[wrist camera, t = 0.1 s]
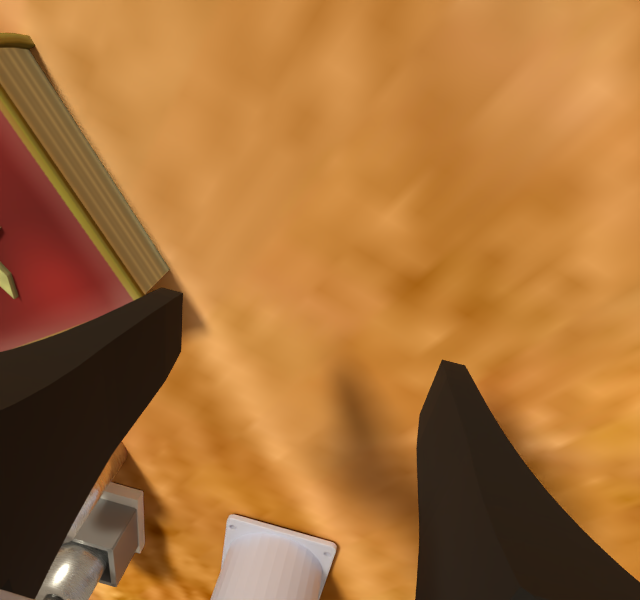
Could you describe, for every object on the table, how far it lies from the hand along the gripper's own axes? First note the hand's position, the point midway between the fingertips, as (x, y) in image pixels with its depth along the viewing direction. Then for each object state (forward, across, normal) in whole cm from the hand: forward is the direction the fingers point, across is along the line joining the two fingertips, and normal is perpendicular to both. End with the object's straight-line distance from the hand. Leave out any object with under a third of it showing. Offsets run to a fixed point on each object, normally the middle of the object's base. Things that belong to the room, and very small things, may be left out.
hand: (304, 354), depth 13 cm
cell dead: (+9, +13, +28) cm, 32 cm away
